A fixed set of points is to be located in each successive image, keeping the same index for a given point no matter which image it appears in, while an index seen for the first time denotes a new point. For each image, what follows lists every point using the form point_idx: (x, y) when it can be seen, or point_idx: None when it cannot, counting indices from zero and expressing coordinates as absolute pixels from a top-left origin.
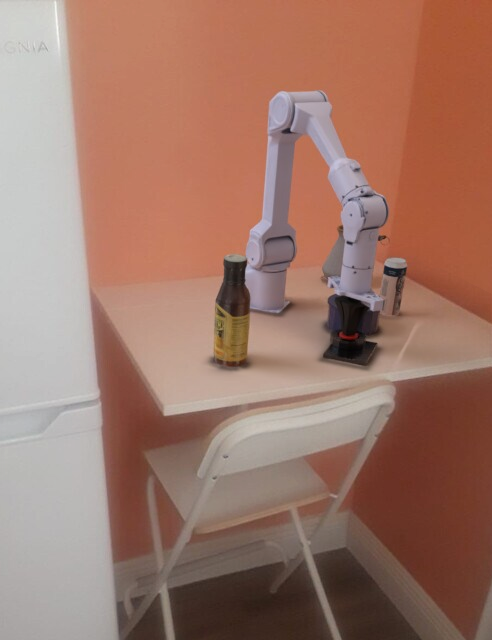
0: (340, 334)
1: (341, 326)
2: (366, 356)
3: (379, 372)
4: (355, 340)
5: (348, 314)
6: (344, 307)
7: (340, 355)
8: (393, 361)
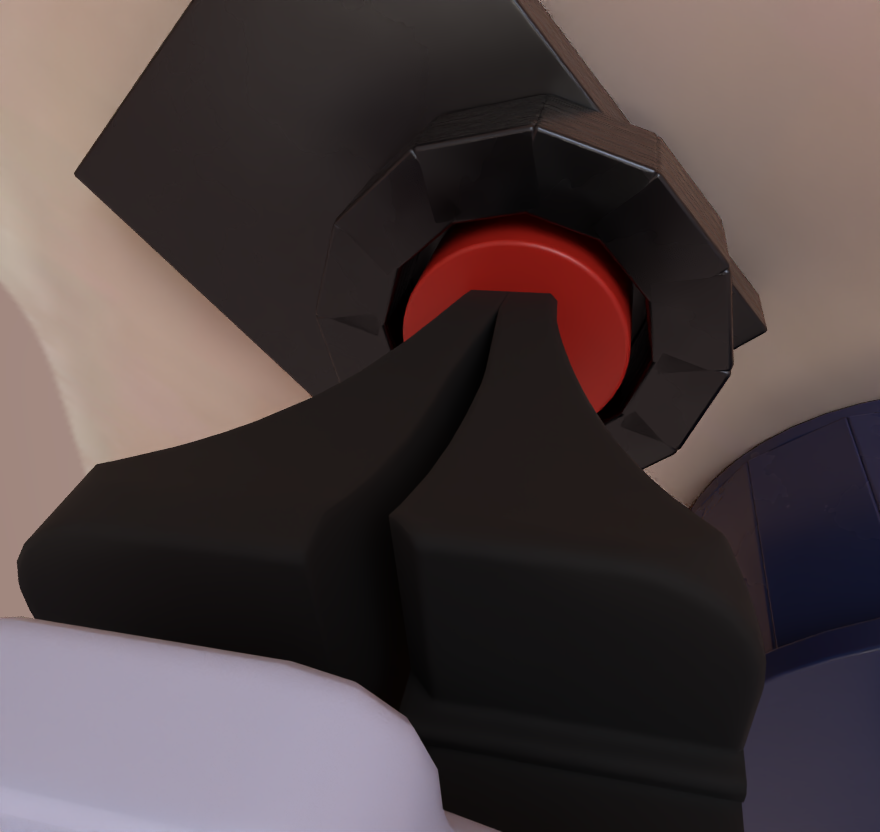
0: (547, 259)
1: (869, 473)
2: (194, 263)
3: (43, 224)
4: (350, 315)
5: (252, 424)
6: (280, 474)
7: (251, 7)
8: (221, 432)
